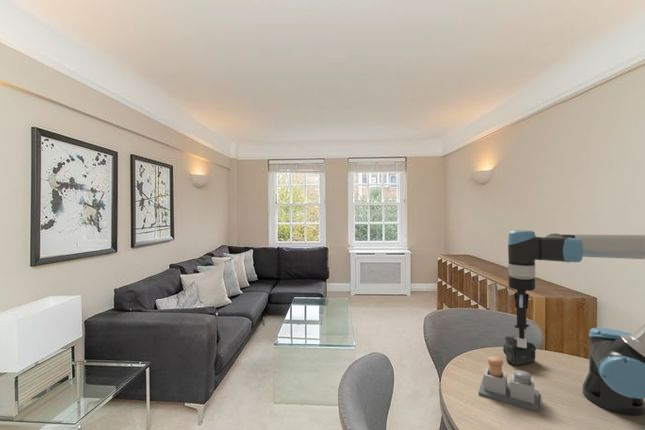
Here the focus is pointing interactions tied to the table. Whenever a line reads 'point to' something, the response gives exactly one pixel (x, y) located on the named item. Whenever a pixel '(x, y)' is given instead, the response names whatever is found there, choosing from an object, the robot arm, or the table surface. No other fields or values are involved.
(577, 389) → the table surface
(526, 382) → the plug grey
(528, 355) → the camera
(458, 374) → the table surface
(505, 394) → the panel
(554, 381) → the table surface
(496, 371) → the plug terracotta
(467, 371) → the table surface
